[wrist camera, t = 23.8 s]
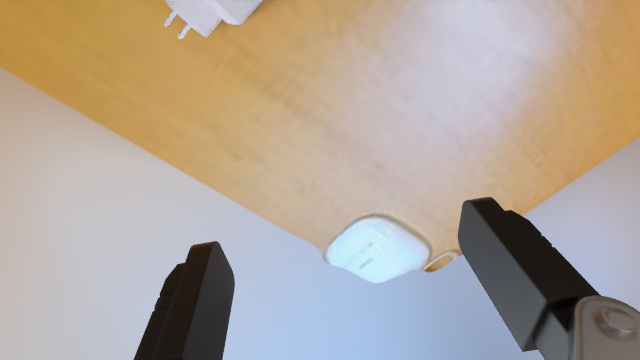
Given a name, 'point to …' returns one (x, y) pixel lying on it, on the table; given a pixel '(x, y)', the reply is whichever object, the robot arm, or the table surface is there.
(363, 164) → the table surface
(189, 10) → the charger
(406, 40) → the table surface
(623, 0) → the table surface
